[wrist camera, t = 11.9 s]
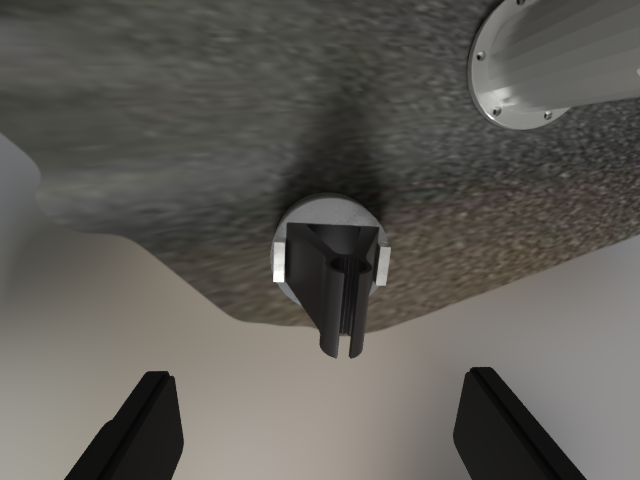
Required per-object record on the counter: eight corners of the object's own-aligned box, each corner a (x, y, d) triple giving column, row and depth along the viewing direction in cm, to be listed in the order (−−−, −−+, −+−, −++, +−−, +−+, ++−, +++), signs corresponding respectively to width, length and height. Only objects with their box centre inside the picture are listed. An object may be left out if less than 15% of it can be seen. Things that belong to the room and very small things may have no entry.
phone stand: (378, 226, 29) (426, 276, 18) (371, 282, 31) (411, 360, 20) (286, 221, 29) (275, 270, 17) (284, 278, 31) (273, 357, 19)
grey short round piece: (383, 194, 34) (402, 205, 27) (371, 291, 37) (385, 321, 31) (275, 189, 33) (269, 198, 27) (274, 288, 36) (267, 318, 30)
